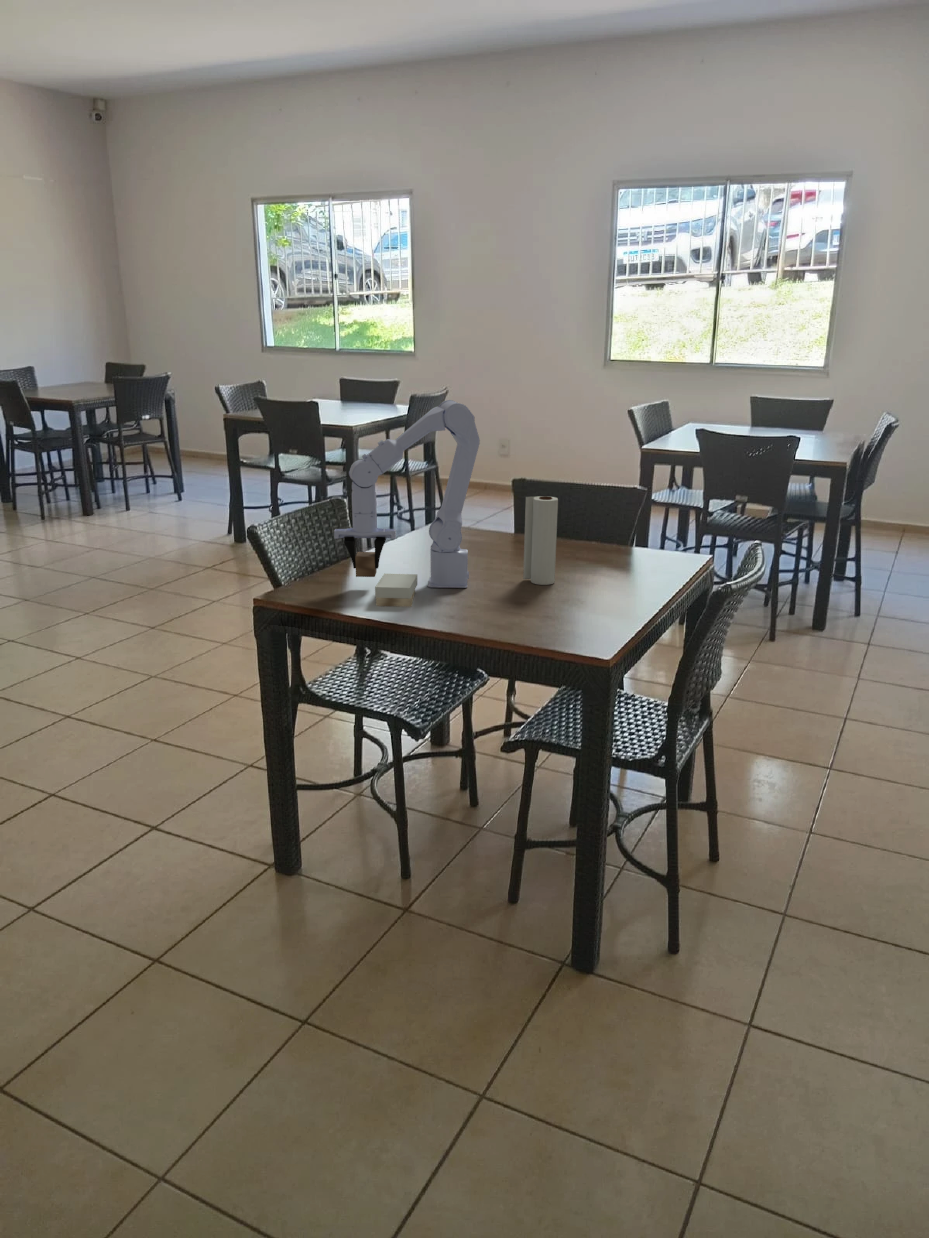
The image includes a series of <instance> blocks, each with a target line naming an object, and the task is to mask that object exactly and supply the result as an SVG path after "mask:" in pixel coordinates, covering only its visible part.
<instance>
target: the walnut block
mask: <svg viewBox="0 0 929 1238" xmlns="http://www.w3.org/2000/svg"><path fill="white" fill-rule="evenodd" d="M356 553H357V554H356V556H355V561H356V568H355V577H356V578H357V577H358V578H359V577H360V578H376V575H377V573H378V572H377V569H375V551H356Z"/></svg>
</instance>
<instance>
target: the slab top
mask: <svg viewBox="0 0 929 1238" xmlns="http://www.w3.org/2000/svg"><path fill="white" fill-rule="evenodd" d="M381 576H382V577H380V579H379V581H378V582H377V584H376V586H375V587H374V591H375V592H374V593H375V595H374V596H375V599H376V598H406V599H410V598H411V596H412V594H413V592H414V590H415V591H416V589H417V586H418V574H412V573H411V574H410V573H383V575H381Z"/></svg>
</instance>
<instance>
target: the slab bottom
mask: <svg viewBox="0 0 929 1238" xmlns="http://www.w3.org/2000/svg"><path fill="white" fill-rule="evenodd" d="M415 594H416V589H415V590H414V592H413V594H412V596H411V598H410V599H406V598H375V600H376V601H375V603H376V604H375V606H376V607H411V608H412V605H413V601H414V598H415Z"/></svg>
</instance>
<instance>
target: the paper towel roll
mask: <svg viewBox="0 0 929 1238" xmlns="http://www.w3.org/2000/svg"><path fill="white" fill-rule="evenodd" d="M558 498H559V497H556V496H546V495H545V496H541V495H539V496H538V495H537V496H525V507H524V508H525V510H524V511H525V513H524V539H523V540H524V542H523V543H524V545H523V546H524V547H523V548H524V549H523V573H522V574H523V576H522V577H523V580H530V582H531V583H532V584H533V585H540V586H546V585H547V586H548V585H552V584H553V585H554V583H555V580H556V579H555V578H556V559H557V558H556V556H557V555H556V554H557V535H558V534H557V531H558V530H557V529H558V511H559V510H558V509H559V499H558Z"/></svg>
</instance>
